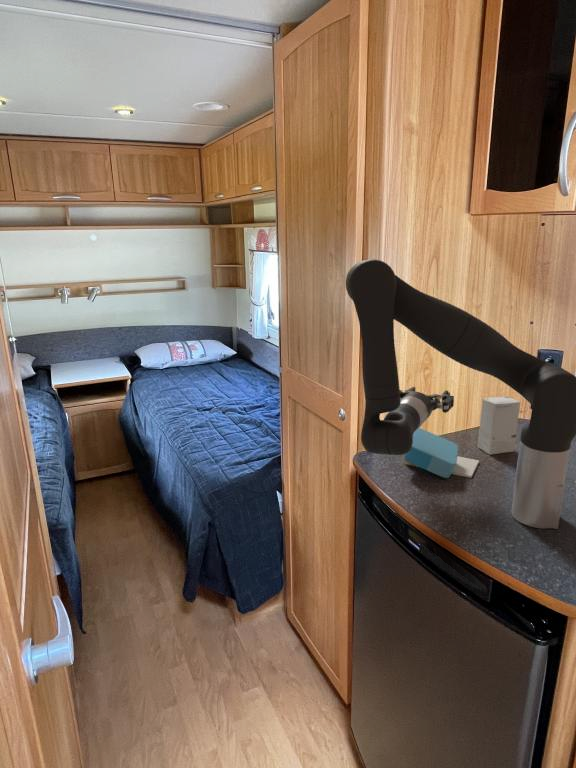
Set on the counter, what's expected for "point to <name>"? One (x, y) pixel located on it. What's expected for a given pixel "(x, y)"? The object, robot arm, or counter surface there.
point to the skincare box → (498, 425)
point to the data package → (433, 453)
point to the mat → (464, 467)
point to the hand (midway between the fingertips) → (430, 392)
